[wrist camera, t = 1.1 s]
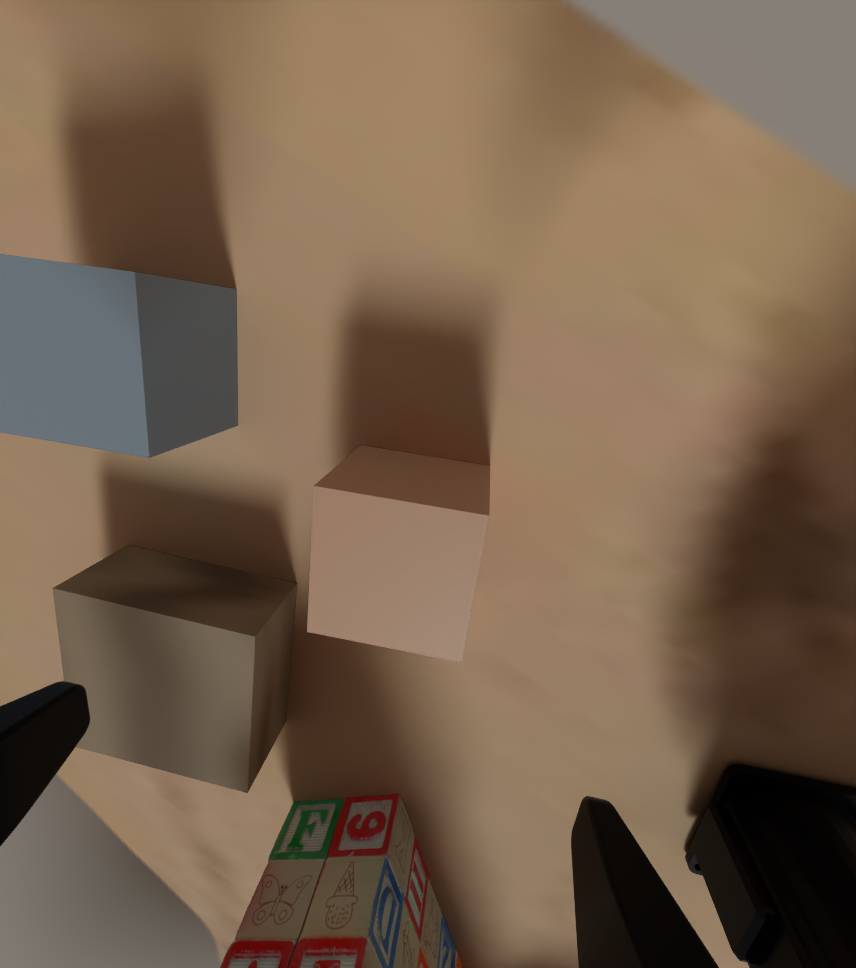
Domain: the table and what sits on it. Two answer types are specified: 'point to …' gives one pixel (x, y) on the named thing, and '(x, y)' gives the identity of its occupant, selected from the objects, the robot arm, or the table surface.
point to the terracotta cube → (398, 550)
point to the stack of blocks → (344, 894)
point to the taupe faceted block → (179, 662)
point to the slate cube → (114, 357)
